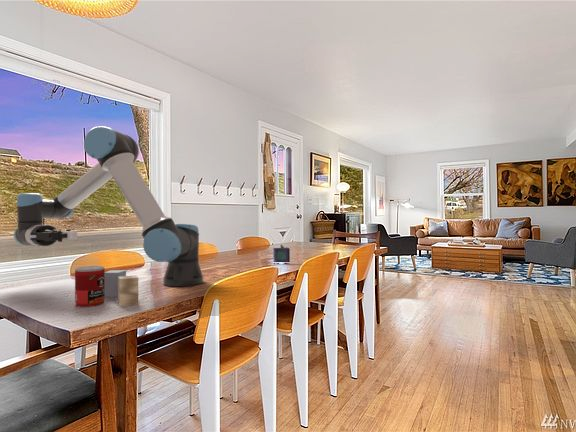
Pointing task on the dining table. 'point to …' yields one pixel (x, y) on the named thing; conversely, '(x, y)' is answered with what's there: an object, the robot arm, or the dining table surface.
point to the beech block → (127, 290)
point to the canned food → (89, 286)
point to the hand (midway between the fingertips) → (74, 235)
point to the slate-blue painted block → (112, 282)
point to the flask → (281, 254)
